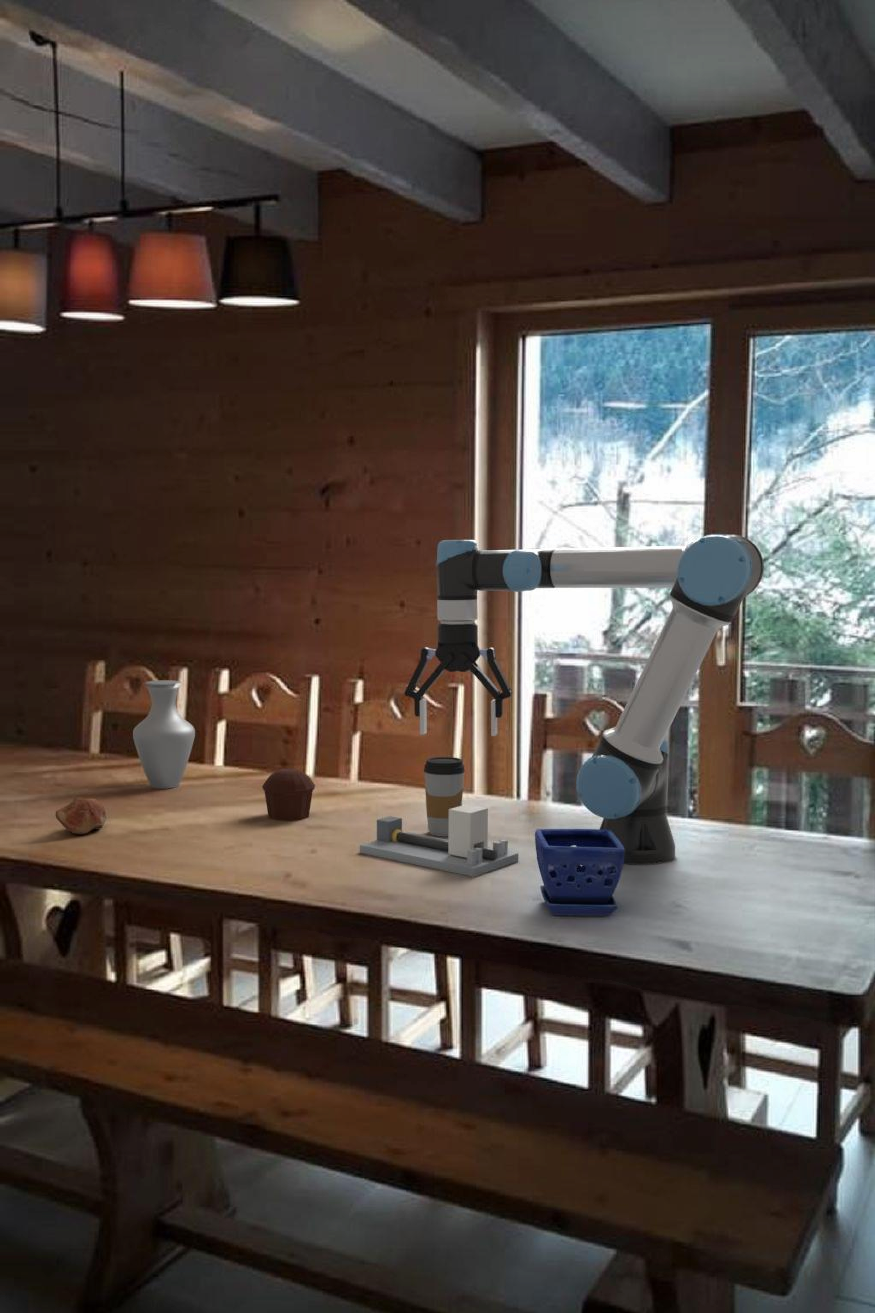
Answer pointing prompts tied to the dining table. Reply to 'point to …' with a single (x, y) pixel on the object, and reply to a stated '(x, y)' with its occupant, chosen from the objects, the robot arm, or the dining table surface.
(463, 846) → the cream rail slider block
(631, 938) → the dining table surface
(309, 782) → the muffin
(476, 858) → the sliding block rail
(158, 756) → the vase
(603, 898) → the flower pot
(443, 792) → the coffee cup
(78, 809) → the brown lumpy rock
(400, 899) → the dining table surface
